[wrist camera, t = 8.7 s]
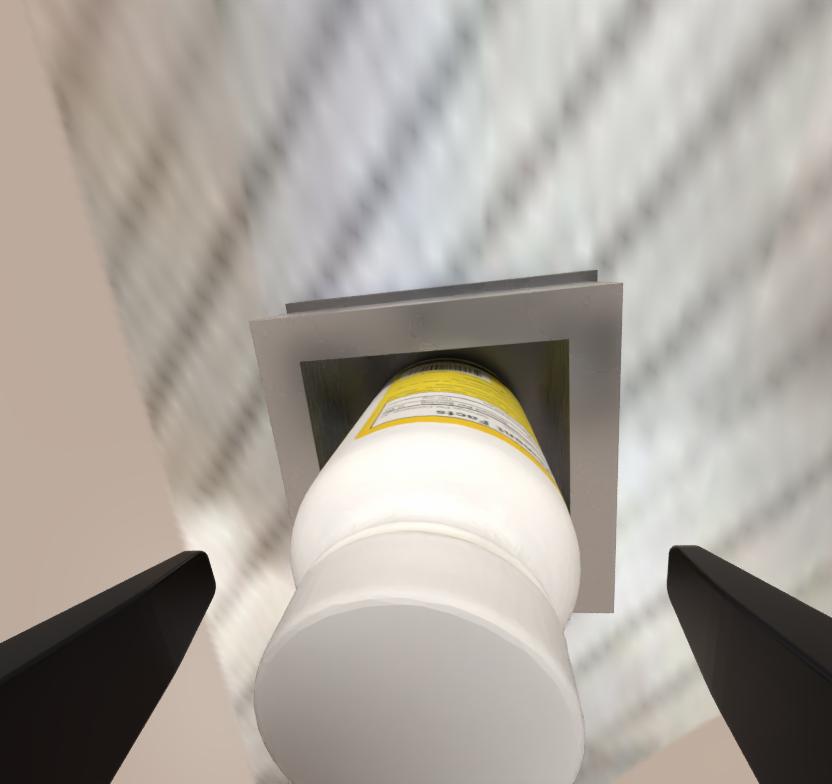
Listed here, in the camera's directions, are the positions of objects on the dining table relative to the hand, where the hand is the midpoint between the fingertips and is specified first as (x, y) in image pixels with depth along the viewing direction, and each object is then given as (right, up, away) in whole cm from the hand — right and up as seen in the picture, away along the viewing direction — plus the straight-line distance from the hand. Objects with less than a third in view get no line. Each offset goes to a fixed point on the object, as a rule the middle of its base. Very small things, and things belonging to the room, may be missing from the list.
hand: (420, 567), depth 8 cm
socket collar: (+1, +2, +7) cm, 8 cm away
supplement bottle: (+1, +2, +6) cm, 7 cm away
